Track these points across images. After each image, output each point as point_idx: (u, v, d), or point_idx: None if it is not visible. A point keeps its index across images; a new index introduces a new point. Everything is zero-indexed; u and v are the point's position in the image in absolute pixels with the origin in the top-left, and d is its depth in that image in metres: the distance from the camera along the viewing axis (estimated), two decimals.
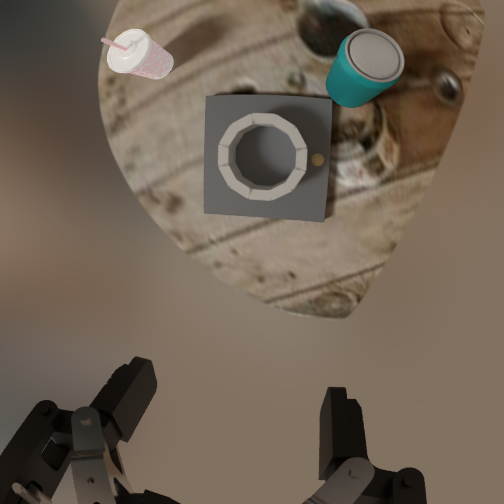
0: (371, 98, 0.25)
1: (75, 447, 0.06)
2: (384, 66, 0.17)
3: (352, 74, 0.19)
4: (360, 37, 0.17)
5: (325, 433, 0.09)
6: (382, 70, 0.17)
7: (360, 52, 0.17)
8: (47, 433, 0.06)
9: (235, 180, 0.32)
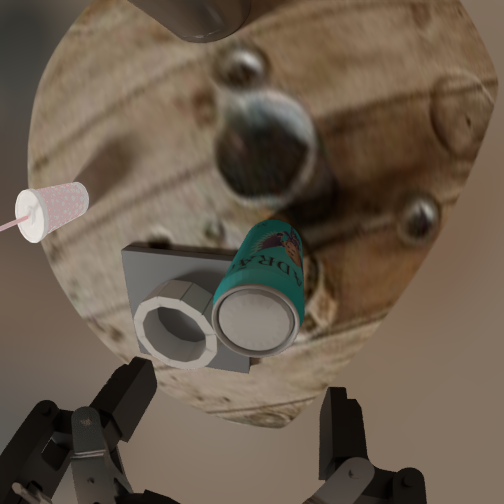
0: None
1: (75, 447, 0.06)
2: (265, 340, 0.16)
3: None
4: (233, 301, 0.16)
5: (325, 433, 0.09)
6: (262, 344, 0.17)
7: (231, 324, 0.16)
8: (47, 433, 0.06)
9: (154, 350, 0.31)
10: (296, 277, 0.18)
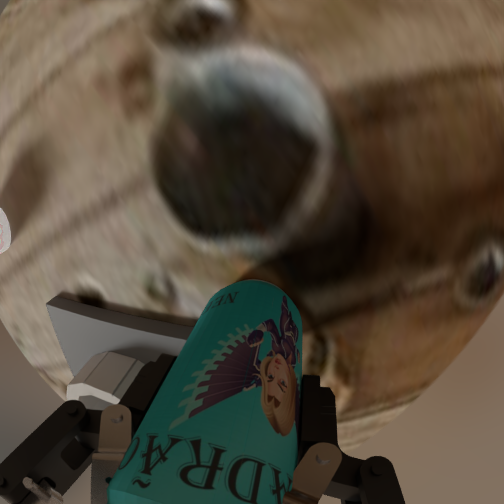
0: None
1: (100, 444, 0.07)
2: None
3: None
4: None
5: None
6: None
7: None
8: (70, 434, 0.07)
9: None
10: (277, 488, 0.05)
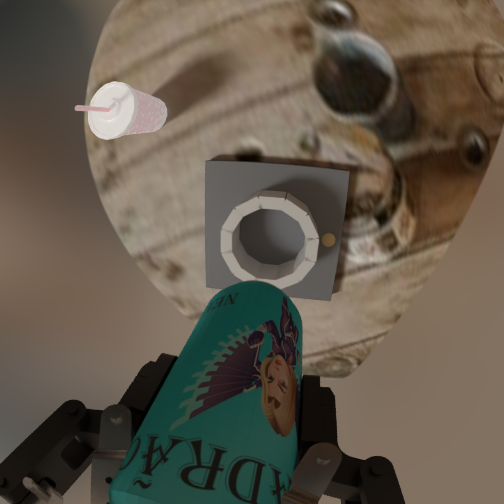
0: None
1: (100, 444, 0.07)
2: None
3: None
4: None
5: None
6: None
7: None
8: (70, 434, 0.07)
9: (239, 268, 0.30)
10: (277, 489, 0.06)
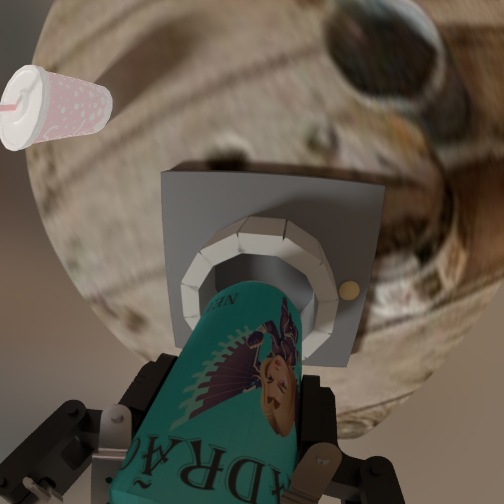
0: None
1: (100, 444, 0.07)
2: None
3: None
4: None
5: None
6: None
7: None
8: (70, 434, 0.07)
9: None
10: (277, 489, 0.06)
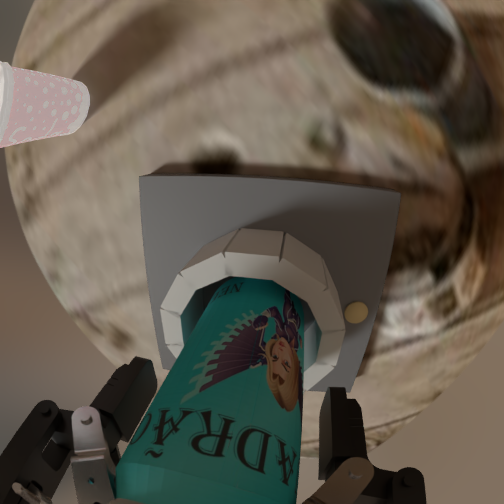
0: None
1: (75, 447, 0.06)
2: None
3: None
4: None
5: (325, 433, 0.09)
6: None
7: None
8: (47, 433, 0.06)
9: None
10: (283, 459, 0.06)
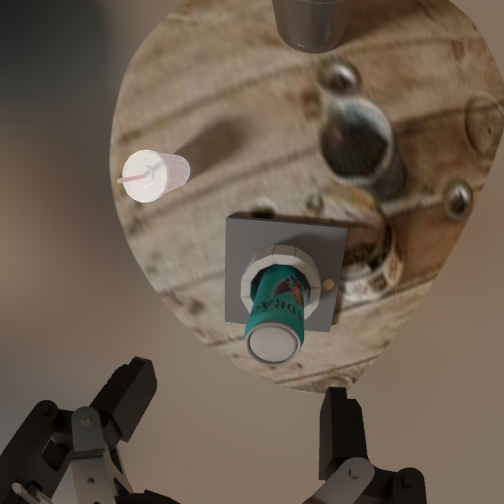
0: None
1: (75, 447, 0.06)
2: (279, 355, 0.25)
3: None
4: (260, 332, 0.25)
5: (325, 433, 0.09)
6: (277, 358, 0.26)
7: (258, 345, 0.25)
8: (47, 433, 0.06)
9: None
10: (299, 314, 0.27)
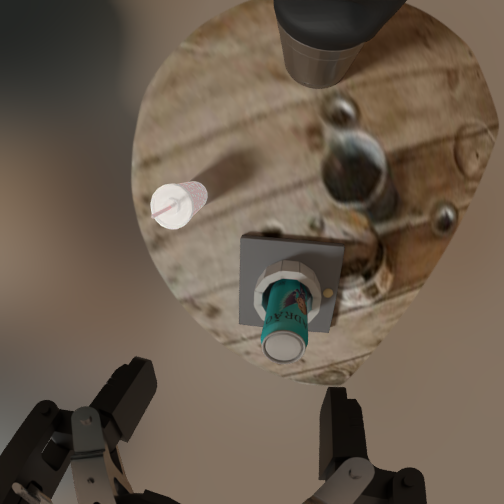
0: None
1: (75, 447, 0.06)
2: (288, 355, 0.32)
3: None
4: (273, 338, 0.31)
5: (325, 433, 0.09)
6: (286, 357, 0.32)
7: (272, 348, 0.32)
8: (47, 433, 0.06)
9: None
10: (304, 323, 0.34)
